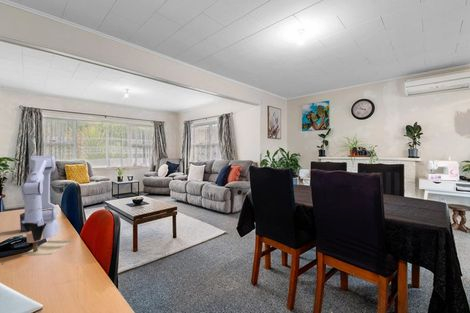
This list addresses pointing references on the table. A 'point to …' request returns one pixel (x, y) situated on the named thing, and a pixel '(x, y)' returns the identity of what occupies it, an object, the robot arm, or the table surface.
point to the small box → (22, 218)
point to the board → (46, 247)
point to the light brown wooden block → (31, 237)
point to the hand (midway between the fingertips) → (34, 239)
